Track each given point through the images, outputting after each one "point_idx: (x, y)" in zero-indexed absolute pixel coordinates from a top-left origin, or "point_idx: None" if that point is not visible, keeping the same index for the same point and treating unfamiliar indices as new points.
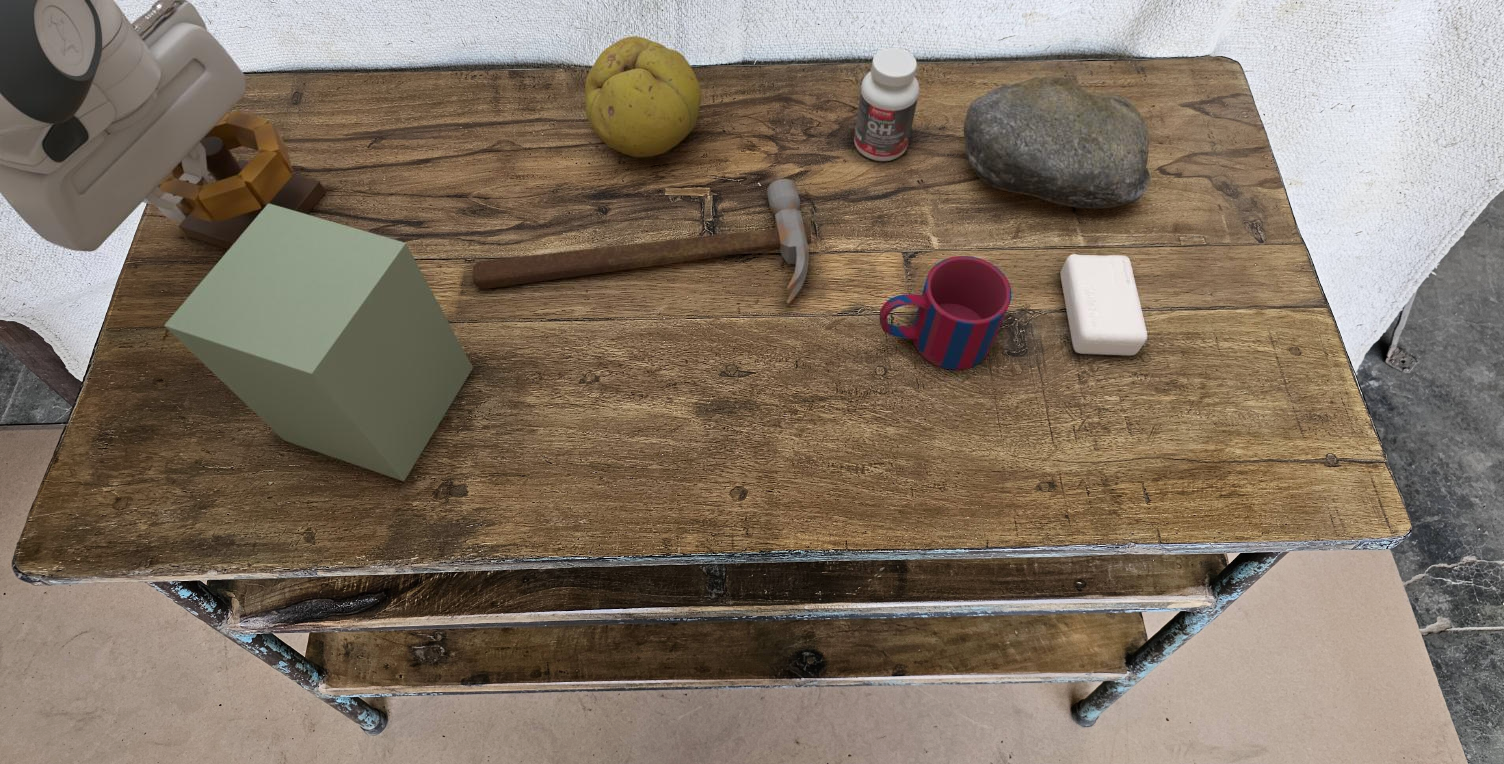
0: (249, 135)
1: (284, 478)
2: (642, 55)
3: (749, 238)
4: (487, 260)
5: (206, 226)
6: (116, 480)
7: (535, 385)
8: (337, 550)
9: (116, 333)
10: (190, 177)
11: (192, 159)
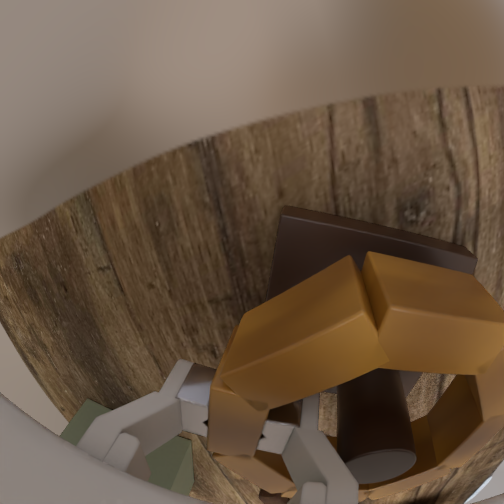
0: (446, 437)
1: (72, 398)
2: None
3: None
4: (280, 502)
5: (290, 276)
6: (10, 290)
7: (196, 493)
8: (67, 419)
9: (82, 197)
10: (277, 439)
11: (304, 482)
